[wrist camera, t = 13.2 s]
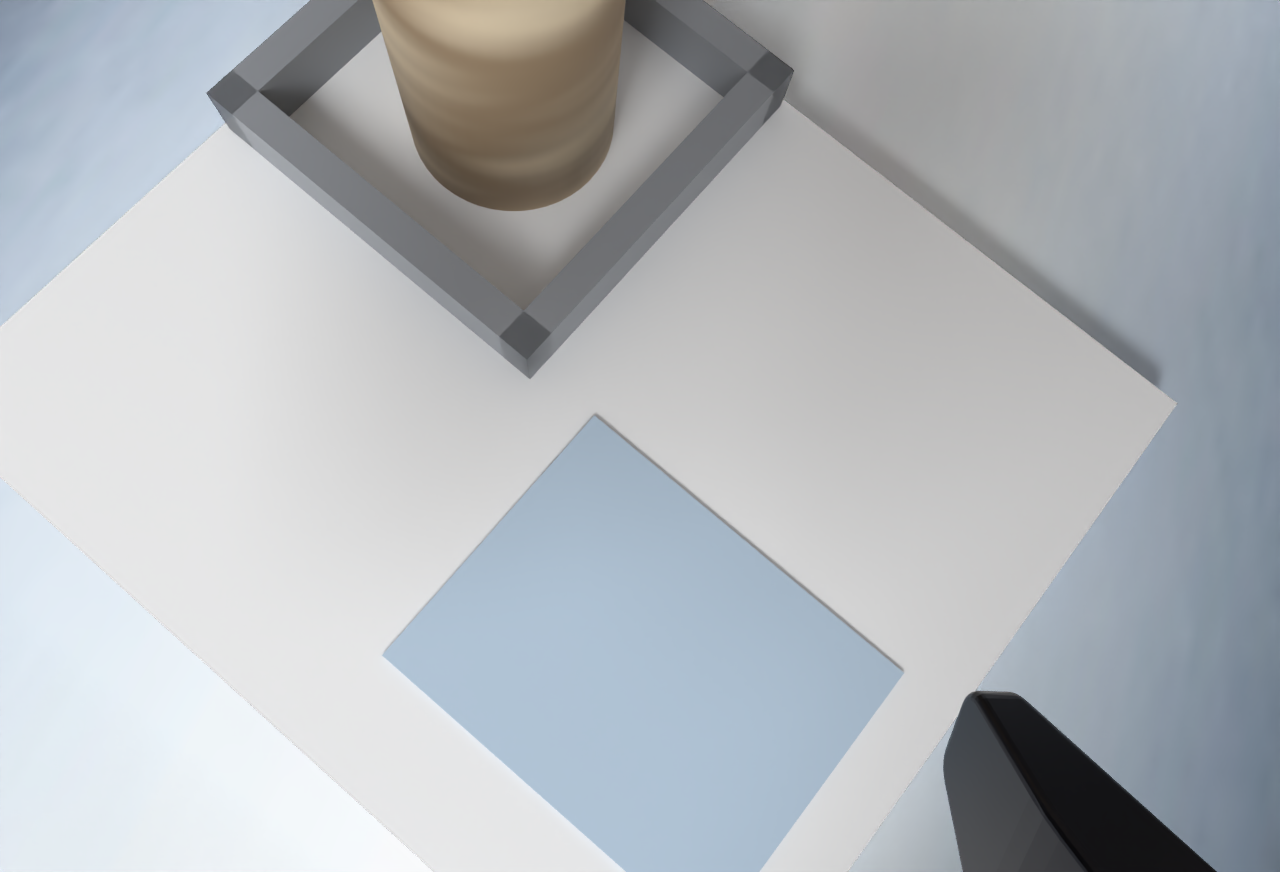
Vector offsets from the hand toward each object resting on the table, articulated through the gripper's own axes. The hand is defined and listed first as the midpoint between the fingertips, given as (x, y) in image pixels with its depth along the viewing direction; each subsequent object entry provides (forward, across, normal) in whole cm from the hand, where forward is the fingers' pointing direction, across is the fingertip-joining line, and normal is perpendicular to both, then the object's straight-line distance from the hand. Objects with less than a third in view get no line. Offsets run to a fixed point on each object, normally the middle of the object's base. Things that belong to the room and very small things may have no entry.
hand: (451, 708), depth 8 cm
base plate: (+14, -1, +5) cm, 15 cm away
